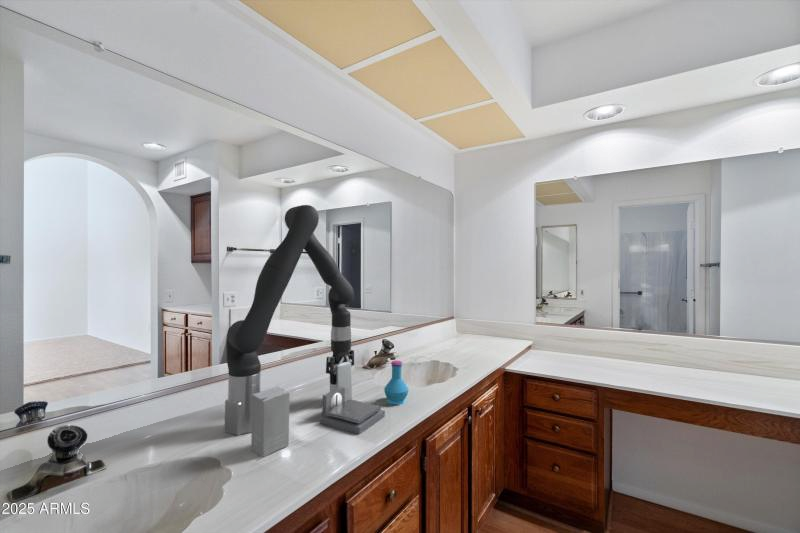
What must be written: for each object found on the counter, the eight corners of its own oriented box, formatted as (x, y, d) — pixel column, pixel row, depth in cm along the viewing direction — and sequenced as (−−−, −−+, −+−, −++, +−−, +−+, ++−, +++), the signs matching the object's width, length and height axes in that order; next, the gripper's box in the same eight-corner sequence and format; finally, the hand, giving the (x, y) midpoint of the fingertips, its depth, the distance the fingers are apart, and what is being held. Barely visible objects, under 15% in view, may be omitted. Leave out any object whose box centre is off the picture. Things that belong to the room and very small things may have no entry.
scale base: (359, 434, 110) (359, 407, 110) (317, 422, 118) (317, 397, 118) (384, 416, 123) (385, 393, 123) (345, 407, 131) (345, 384, 131)
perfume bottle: (412, 404, 135) (412, 363, 135) (388, 407, 132) (389, 365, 132) (402, 395, 143) (403, 357, 144) (380, 398, 140) (381, 359, 140)
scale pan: (358, 425, 111) (358, 420, 111) (325, 416, 117) (325, 411, 117) (380, 410, 123) (380, 406, 123) (349, 403, 129) (349, 399, 129)
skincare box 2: (352, 403, 134) (353, 363, 135) (337, 406, 131) (337, 365, 131) (342, 396, 141) (343, 358, 142) (328, 399, 138) (329, 360, 138)
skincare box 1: (276, 439, 106) (277, 385, 106) (290, 447, 101) (291, 390, 101) (248, 450, 99) (249, 392, 99) (262, 459, 95) (263, 398, 95)
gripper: (344, 333, 144) (344, 374, 144) (320, 340, 132) (320, 384, 132) (360, 335, 141) (359, 377, 141) (337, 342, 128) (336, 388, 128)
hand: (340, 380), depth 136 cm, fingers open, 8 cm apart
